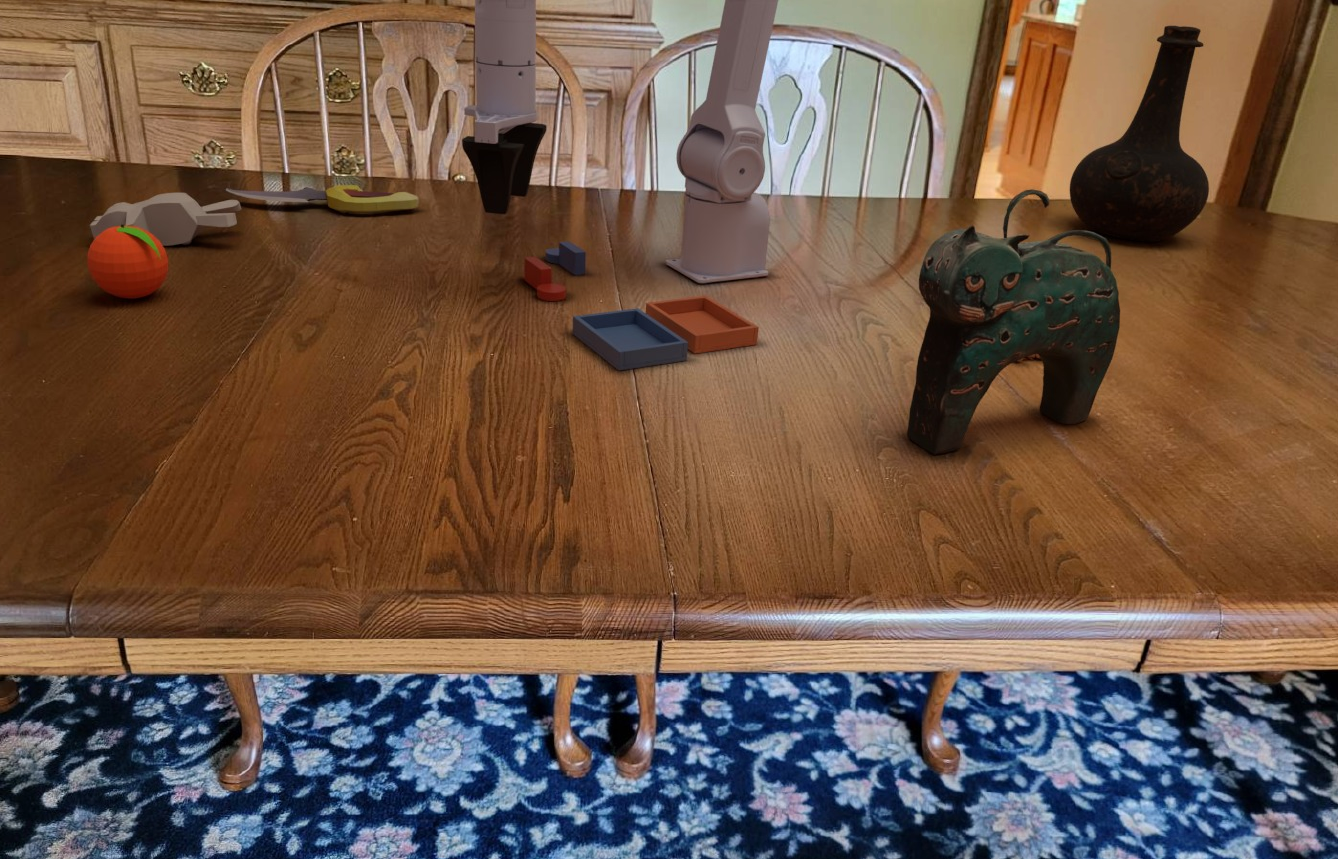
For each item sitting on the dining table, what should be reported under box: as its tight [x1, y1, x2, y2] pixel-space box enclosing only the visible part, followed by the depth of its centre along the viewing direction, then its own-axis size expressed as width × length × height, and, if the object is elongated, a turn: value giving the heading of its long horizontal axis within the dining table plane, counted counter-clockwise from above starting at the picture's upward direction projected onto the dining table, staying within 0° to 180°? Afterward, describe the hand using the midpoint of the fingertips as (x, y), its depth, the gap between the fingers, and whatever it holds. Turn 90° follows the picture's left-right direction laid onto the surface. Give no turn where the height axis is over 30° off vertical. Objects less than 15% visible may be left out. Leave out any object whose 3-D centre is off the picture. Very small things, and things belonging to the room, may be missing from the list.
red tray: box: [645, 295, 760, 354], centre depth 103 cm, size 7×10×2 cm
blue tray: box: [572, 307, 688, 372], centre depth 98 cm, size 7×10×2 cm
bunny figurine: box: [89, 192, 242, 247], centre depth 118 cm, size 10×5×15 cm
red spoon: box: [524, 256, 567, 302], centre depth 111 cm, size 7×3×3 cm, turn 29°
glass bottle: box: [1069, 25, 1210, 243], centre depth 145 cm, size 18×18×28 cm
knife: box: [225, 184, 420, 214], centre depth 136 cm, size 8×3×25 cm
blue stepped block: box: [545, 241, 587, 276], centre depth 120 cm, size 7×3×3 cm, turn 29°
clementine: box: [87, 224, 169, 300], centre depth 100 cm, size 8×7×7 cm
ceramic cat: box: [906, 188, 1121, 456], centre depth 82 cm, size 20×6×20 cm, turn 117°
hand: (506, 203), depth 106 cm, fingers open, 7 cm apart
